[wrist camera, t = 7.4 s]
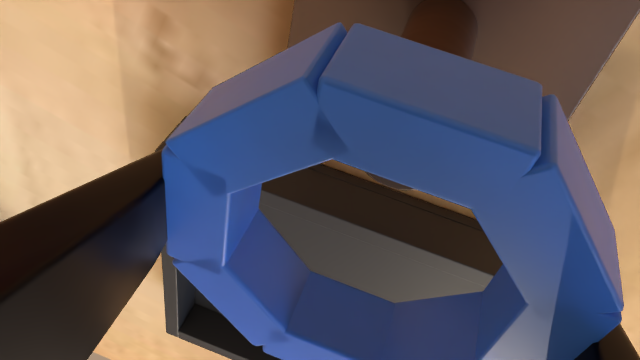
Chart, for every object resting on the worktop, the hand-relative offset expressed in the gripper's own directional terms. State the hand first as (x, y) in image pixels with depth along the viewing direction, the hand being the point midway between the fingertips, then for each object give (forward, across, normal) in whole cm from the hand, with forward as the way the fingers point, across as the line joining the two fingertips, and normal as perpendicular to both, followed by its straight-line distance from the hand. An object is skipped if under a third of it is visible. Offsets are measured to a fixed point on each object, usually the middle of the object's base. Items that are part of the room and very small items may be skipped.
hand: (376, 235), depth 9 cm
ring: (0, 0, 0) cm, 0 cm away
